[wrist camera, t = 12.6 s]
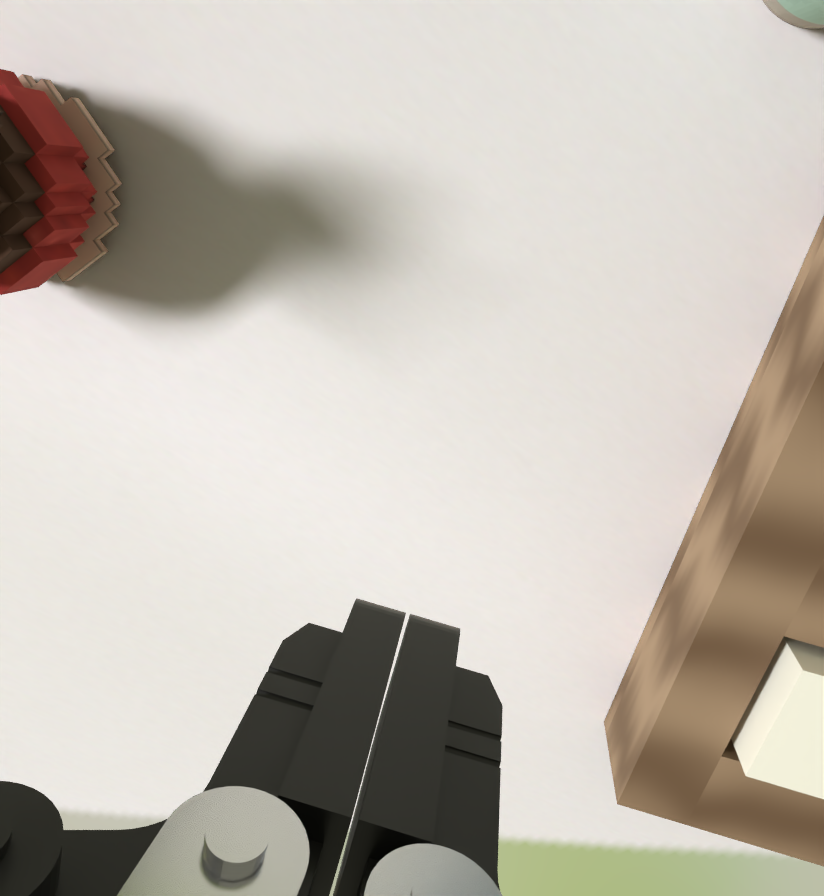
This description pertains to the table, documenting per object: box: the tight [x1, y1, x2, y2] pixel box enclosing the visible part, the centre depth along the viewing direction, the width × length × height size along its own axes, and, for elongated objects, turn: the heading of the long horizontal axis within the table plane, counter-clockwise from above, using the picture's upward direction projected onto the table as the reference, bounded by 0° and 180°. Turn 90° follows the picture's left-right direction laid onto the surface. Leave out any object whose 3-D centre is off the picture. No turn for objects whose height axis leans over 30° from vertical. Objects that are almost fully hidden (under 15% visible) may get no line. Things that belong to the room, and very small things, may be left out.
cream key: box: [731, 636, 824, 799], centre depth 34 cm, size 6×6×4 cm
